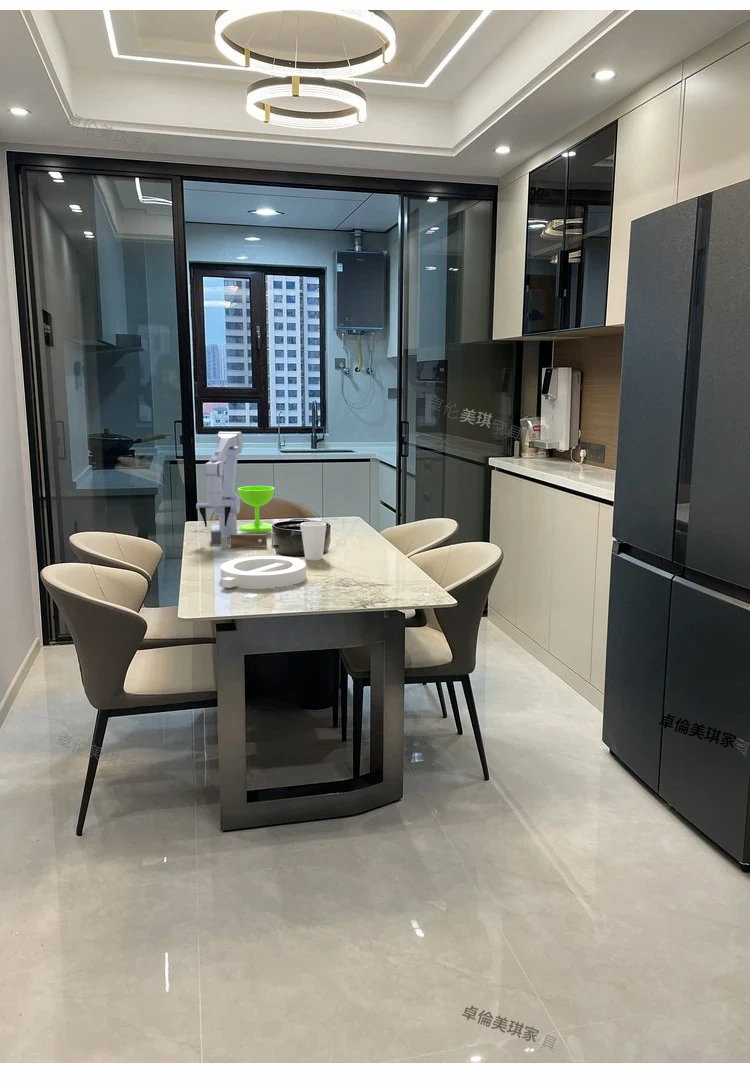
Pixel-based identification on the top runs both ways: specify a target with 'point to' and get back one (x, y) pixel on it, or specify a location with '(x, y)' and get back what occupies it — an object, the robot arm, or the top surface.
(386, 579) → the top surface
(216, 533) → the grey notched block
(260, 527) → the wineglass
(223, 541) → the pale green rectangular bar
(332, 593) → the top surface
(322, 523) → the foam cup
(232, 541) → the brown rectangular bar
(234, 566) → the ring with crossbar
